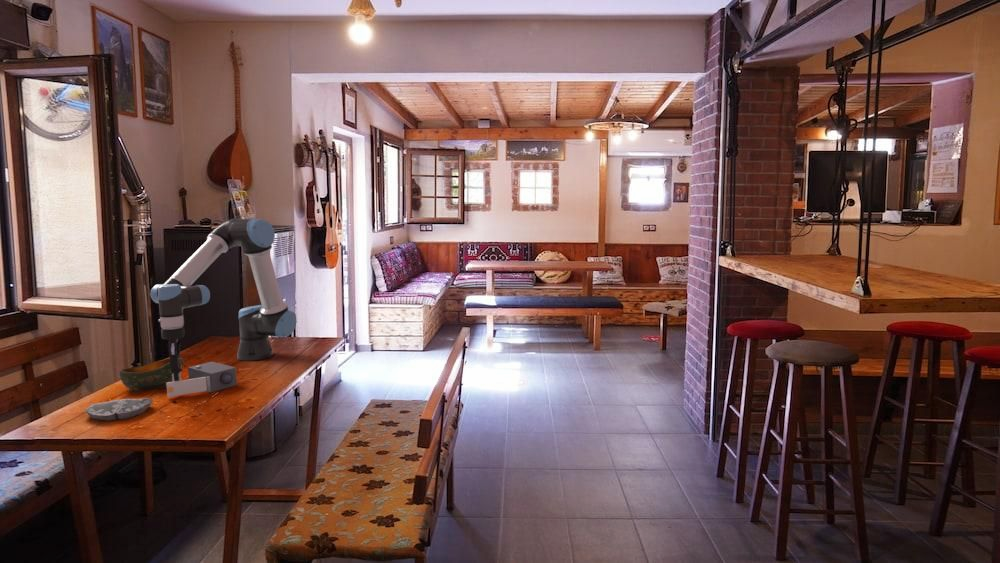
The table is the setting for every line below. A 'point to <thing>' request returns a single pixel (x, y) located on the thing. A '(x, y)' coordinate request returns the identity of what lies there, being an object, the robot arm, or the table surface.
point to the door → (188, 386)
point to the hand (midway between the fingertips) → (177, 389)
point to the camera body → (215, 374)
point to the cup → (148, 376)
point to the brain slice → (118, 409)
